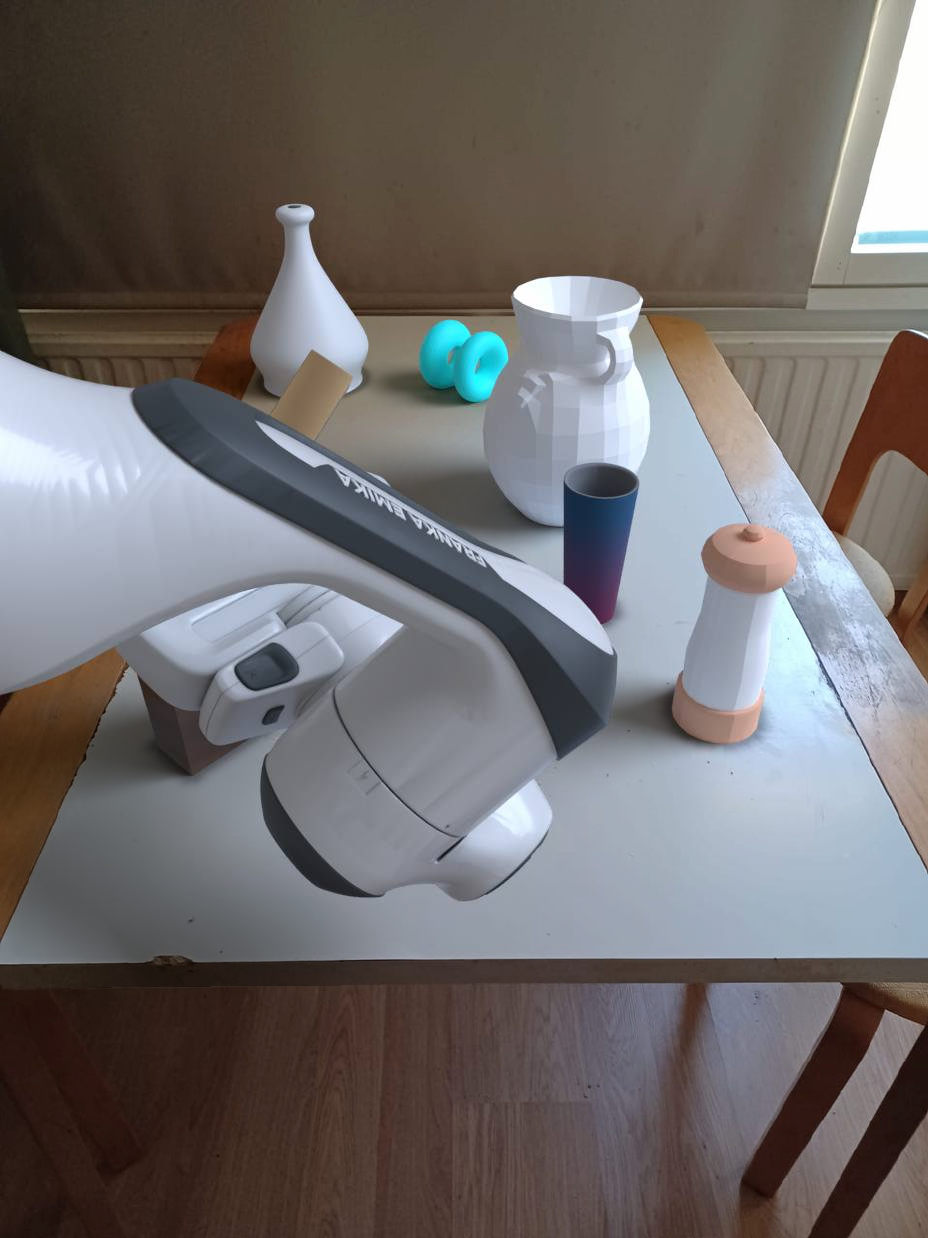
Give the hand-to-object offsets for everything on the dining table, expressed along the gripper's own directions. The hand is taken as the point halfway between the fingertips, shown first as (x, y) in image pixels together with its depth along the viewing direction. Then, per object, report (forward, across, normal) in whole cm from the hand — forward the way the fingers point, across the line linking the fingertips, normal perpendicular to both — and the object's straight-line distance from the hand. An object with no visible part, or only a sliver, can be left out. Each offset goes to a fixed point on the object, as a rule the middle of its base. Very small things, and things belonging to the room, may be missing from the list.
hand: (201, 482), depth 56 cm
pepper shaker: (-34, -31, +12) cm, 47 cm away
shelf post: (-8, 0, +27) cm, 28 cm away
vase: (+38, -56, +54) cm, 87 cm away
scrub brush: (-2, -4, -1) cm, 4 cm away
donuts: (+21, -68, +44) cm, 84 cm away
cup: (-19, -36, +20) cm, 46 cm away
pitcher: (-6, -51, +28) cm, 59 cm away
